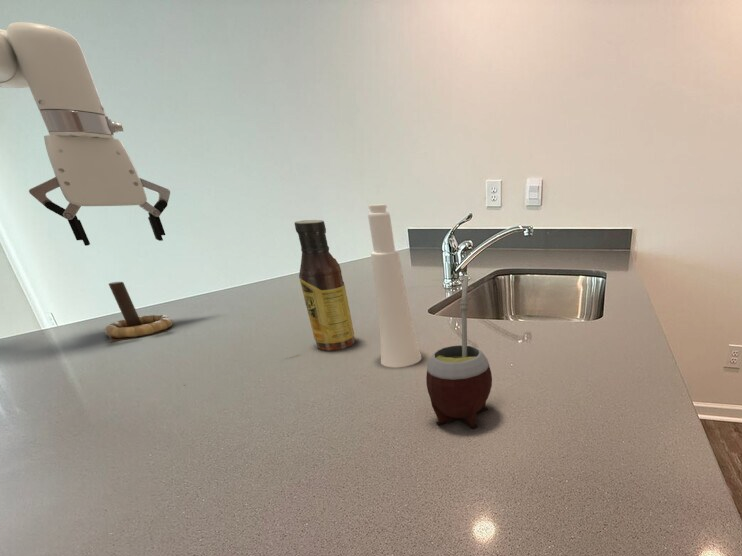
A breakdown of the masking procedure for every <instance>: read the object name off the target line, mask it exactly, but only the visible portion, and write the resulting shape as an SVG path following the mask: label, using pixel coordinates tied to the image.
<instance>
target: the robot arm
mask: <svg viewBox="0 0 742 556" xmlns="http://www.w3.org/2000/svg"><path fill="white" fill-rule="evenodd" d="M0 88H5V89H24V88H29V91H30V92H31V94H32V97H33V100H34V102H35V104H36V106H37V108H38V111H39V114H40V116H41V117H42V120H43V123H44V125H45V127H46V129H47V132H48V135H47V134H46V135H44V136H43V139H44V140H43V141H44V146H45V150H46V153H47V155H48V159H49V162H50V164H51V168H52V169H53V170H52V171H53V173H54V177H52V178H50V179H48V180H46V181H44V182H42V183H39V184H38V185H36V186H33V187H31V188H29V189H28V192H29V194H30V195H31V196H32V197H34V199H36V200H37V201H38V202H39V203H40V204H42V205H43V207H45V208H46V209H48V210H49V211H51V212H53V213H55V214H56V215H59V216H61V217H62V218H64V219H66V220H67V222H68V224H69V226H70V229H71V232H72V233H73V236H74V238H75V240H76V241H82V242H83V244H84V246H86V247H88V246H90V245H91V243H90V240H89V238H88V236H87V235H88V234H87V233H86V231H85V229H84V226H83V224H82V221H81V219H79V218H78V216H77V214H78V212H79V211H80V209H81V207H123V206H124V207H126V206H127V207H128V206H130V207H131V206H138V207H140V208H141V209H142V210H143V211H145V212H147V214H148V217H147V219H148V221H149V225H150V227H151V229H152V233H153V235H154V238H155V240H157V241H159V242H162V241H164V239H163V236H166V231H165V229H164V226H163V223H162V220H161V218H160V216H161V215H162V213H163V212H164V211H165V210H166V208H167V207H168V204H169V201H170V200H169V199H170V195H171V191H170V189H169V188H166V187H163V186H161V185H159V184H156V183H154V182H152V181H149V180H146V179H144V178H141V177H140V175H139V174H138V171H137V169H136V167H135V165H134V162H133V160H132V159H131V156H130V155H129V152H128V150H127V148H126V147H125V146H124V144H123V142H122V140H121V139H118V138H115V134H116V133H124V131H125V130H124V128H123V126H122V123H121V122H116V121H115V120H111V119H109V117H108V116H107V113H106V111H105V108H104V105H103V103H102V99H101V97H100V96H101V95H100V94H99V90H98V89H97V86H96V83H95V80H94V78H93V75H92V72H91V70H90V66H89V64H88V61H87V58H86V56H85V53H84V51H83V48H82V46H81V44H80V43H79V41H78V40H77V39H76V37H74V35H72V34H71V33H69V32H67V31H65V30H63V29H61V28H58V27H55V26H51V25H47V24H43V23H36V22H30V21H29V22H28V21H18V22H17V21H16V22H12V23H10V24H8V25H7V28H6V29H1V28H0ZM59 188H60V191H61V193H62V195H63V197H64V198H65V200H66V201H67V202H68V204H67V206H66V208H64V207H62V206H60V205H58V204H57V203H55V202H53V201H52V200H51V199H50V198H49V197H48V196H47V194H48V193H50V192H52V191H54V190H56V189H59ZM145 189H147V190H149V191H151V192H154V193H157V194H158V199H157V201H156V203H155V204H154V205H152V204H150V203H149V202H148V201H147V200H148V198H147V194H146V191H145Z"/></svg>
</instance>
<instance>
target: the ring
mask: <svg viewBox="0 0 742 556" xmlns="http://www.w3.org/2000/svg"><path fill="white" fill-rule="evenodd" d="M138 316H139V319H140V321H141V323H142V325H139V326H134V327H128V326H127V323H126V321H125V319H124V318H123V319H121V320H117V321H114V322H112V323H110V324H108V325H106V326H105V328H104V331H105V334H106V335H107V336H108V337H109V336H110V337H117V338H127V337H137V336H142V337H144V336H143V335H147V336H149V335H148V334H152V335H154V334H153V333H156V332H159V331H162V330H165V329H169V328H170V327H172V325H174V320H173V319H172V318H171V317H170V316H169V315H166V314H150V315H149V314H148V315H138ZM137 338H138V337H137Z"/></svg>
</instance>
